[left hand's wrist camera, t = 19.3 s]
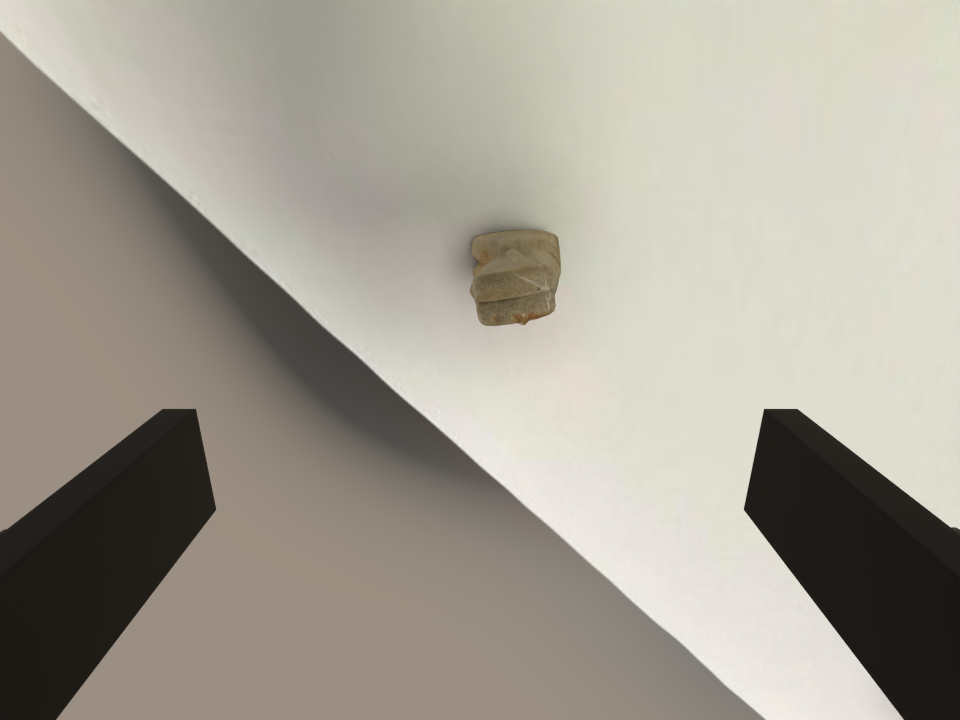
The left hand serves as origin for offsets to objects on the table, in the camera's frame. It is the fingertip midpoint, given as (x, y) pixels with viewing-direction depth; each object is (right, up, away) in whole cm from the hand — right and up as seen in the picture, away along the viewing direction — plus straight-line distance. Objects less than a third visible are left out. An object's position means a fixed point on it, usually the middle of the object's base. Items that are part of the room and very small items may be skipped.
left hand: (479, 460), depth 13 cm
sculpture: (+3, +12, +34) cm, 36 cm away
